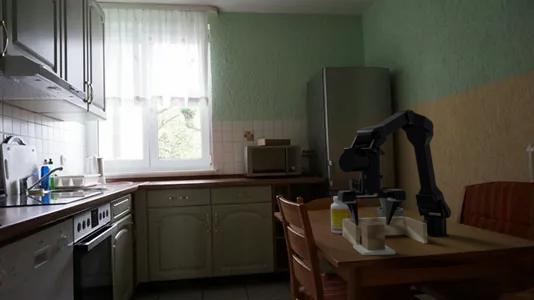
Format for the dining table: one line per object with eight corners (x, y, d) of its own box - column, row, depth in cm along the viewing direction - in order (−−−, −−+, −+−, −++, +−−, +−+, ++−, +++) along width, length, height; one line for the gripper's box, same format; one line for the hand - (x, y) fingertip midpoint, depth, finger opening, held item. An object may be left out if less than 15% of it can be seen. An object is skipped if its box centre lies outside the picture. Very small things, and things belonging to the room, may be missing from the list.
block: (378, 245, 109) (377, 221, 109) (385, 249, 104) (384, 224, 104) (362, 246, 109) (361, 222, 109) (367, 250, 104) (367, 225, 104)
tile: (382, 246, 111) (382, 243, 111) (395, 254, 102) (395, 251, 102) (353, 247, 111) (353, 244, 111) (363, 255, 102) (363, 252, 102)
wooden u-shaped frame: (406, 233, 128) (405, 216, 128) (427, 243, 114) (426, 223, 114) (342, 236, 126) (342, 218, 127) (356, 246, 112) (355, 226, 112)
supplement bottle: (350, 234, 129) (349, 197, 130) (331, 234, 131) (330, 197, 131) (350, 230, 136) (349, 195, 136) (331, 230, 137) (330, 195, 138)
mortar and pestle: (409, 228, 138) (408, 195, 138) (388, 230, 135) (387, 197, 135) (390, 223, 149) (389, 193, 149) (370, 225, 146) (369, 194, 146)
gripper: (390, 169, 116) (392, 219, 115) (332, 171, 114) (333, 221, 114) (406, 170, 105) (408, 226, 104) (342, 172, 103) (343, 228, 103)
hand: (372, 225), depth 107 cm, fingers open, 9 cm apart
